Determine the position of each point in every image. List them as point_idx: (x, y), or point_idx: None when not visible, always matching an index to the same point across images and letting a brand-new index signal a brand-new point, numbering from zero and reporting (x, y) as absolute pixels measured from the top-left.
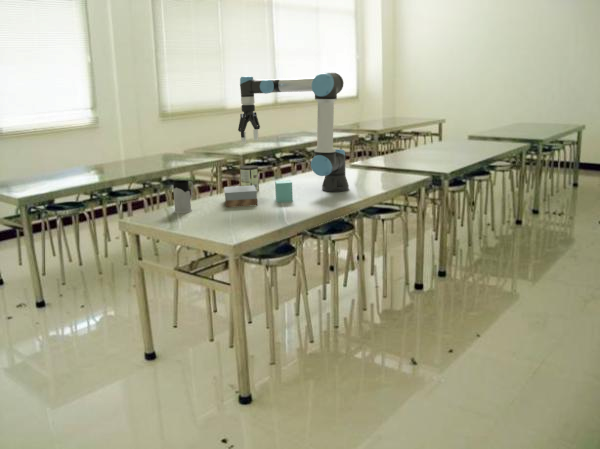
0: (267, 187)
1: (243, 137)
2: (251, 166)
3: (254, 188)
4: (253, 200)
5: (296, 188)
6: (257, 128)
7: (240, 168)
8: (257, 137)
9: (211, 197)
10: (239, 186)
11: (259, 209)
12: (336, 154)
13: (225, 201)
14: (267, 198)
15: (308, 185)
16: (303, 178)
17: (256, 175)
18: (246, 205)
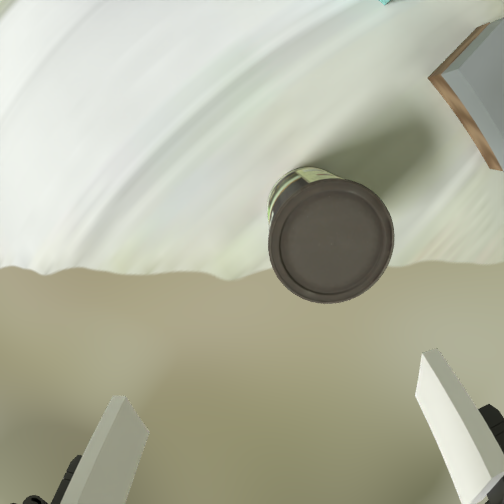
0: (204, 191)
1: (487, 405)
2: (311, 241)
3: (490, 39)
4: None
5: (155, 61)
6: None
7: (380, 271)
8: (113, 426)
9: (466, 255)
10: (498, 121)
11: (496, 5)
12: None
13: None
14: (394, 38)
15: (83, 74)
16: (7, 206)
17: (319, 175)
18: None
